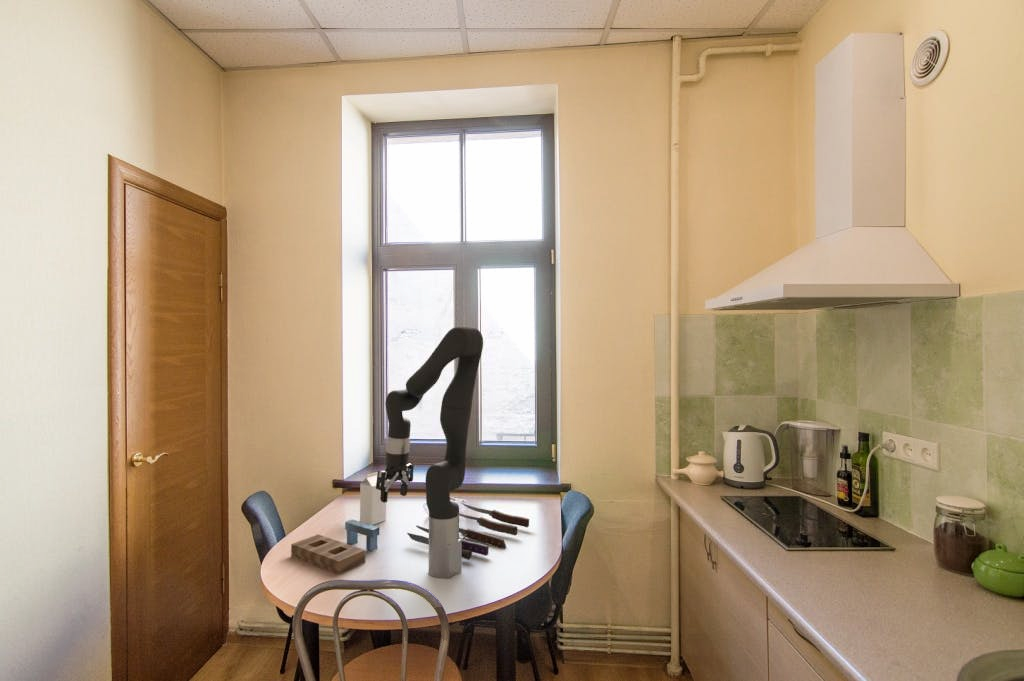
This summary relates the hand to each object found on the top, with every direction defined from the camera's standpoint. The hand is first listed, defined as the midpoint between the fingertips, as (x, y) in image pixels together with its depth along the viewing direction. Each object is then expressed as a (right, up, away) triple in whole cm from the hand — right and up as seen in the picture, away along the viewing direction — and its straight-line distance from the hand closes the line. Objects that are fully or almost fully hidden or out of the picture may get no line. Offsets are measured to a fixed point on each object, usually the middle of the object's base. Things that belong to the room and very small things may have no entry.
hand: (393, 498), depth 159 cm
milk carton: (-16, -20, +32) cm, 41 cm away
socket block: (-21, -19, -3) cm, 28 cm away
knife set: (+23, -20, +15) cm, 34 cm away
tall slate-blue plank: (-13, -19, +7) cm, 24 cm away
